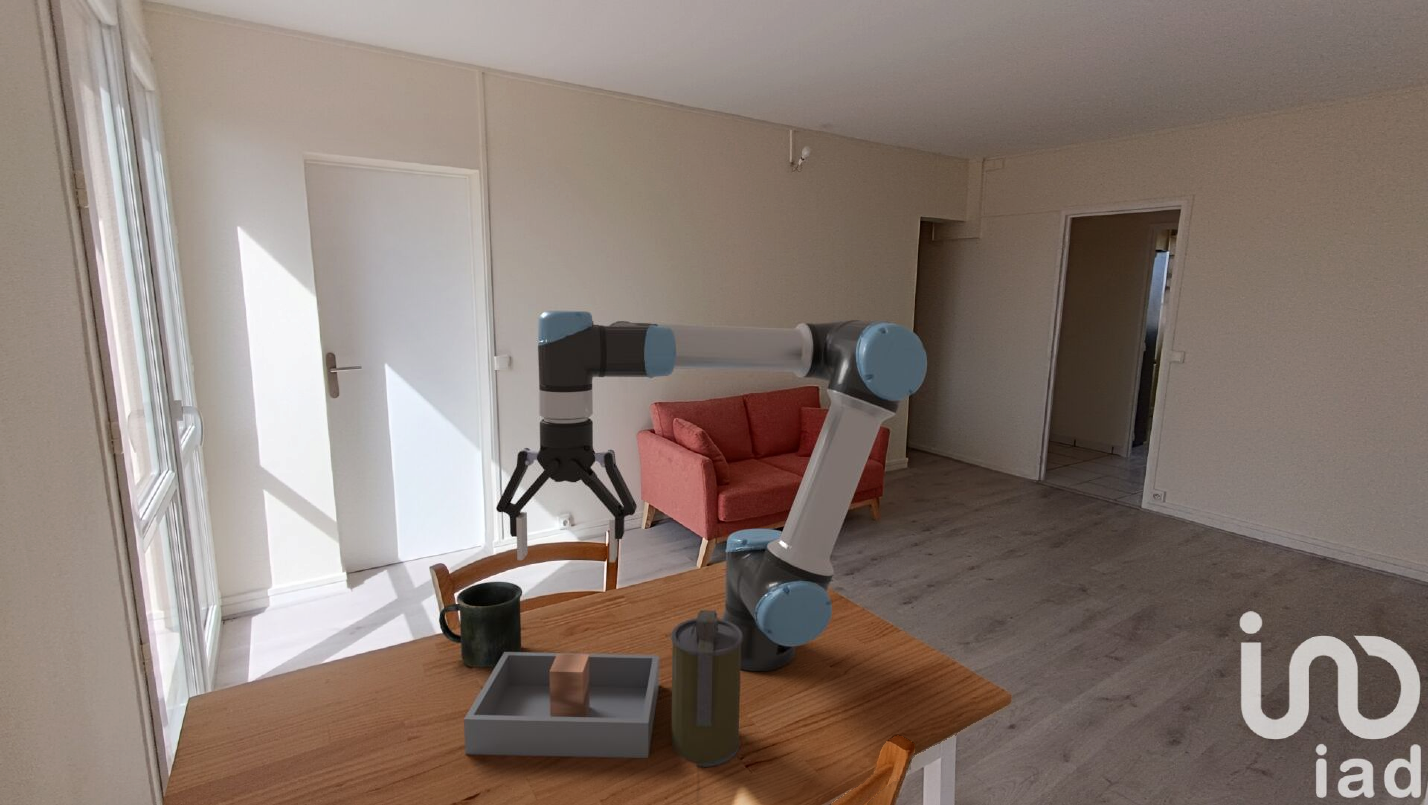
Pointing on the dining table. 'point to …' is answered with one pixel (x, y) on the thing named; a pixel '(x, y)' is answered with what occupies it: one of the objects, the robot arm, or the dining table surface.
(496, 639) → the mug
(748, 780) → the dining table surface
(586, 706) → the block
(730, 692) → the canister
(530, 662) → the bin
